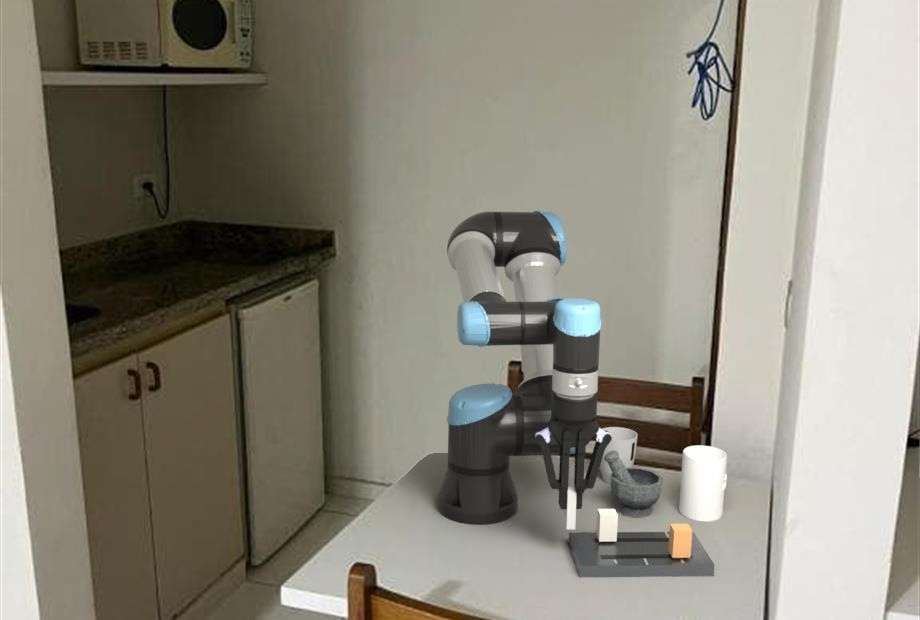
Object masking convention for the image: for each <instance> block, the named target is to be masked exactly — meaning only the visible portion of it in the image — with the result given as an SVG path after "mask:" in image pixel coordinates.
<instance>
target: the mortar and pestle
mask: <svg viewBox="0 0 920 620" xmlns="http://www.w3.org/2000/svg"><path fill="white" fill-rule="evenodd" d="M604 459H605V461H606V462H608V464H609V466H610V468H611V470H612V475H611V481H610V492H611V494H612V496H613V498H614V499H615V500H616V501H617V502H618V503H619V505H618V509H617V510H618V512H619V513H620V514H621V515H623V516H625V517H629V518H632V519H644V518H647V517H650V516H651V514H652V506H654V505H655V504H656V503H657V502H658V500H659V498H660V497H661V491H662V487H663V480H664V479H663V478H664V477H663V475H661V474H659V473H658V472H656V471H655V470H651V469H646V468H642V467H632V468H625V466H624V464H623V463H622V461H621V460H620V458H619V454H618V452H617V451H610V452H608V453H607V454H606V455H605V457H604Z"/></svg>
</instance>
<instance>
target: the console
mask: <svg viewBox="0 0 920 620" xmlns="http://www.w3.org/2000/svg"><path fill="white" fill-rule="evenodd" d="M669 532H670V531H625V532H624V531H617V541H611V542H599V540H598V538H597V535H596V532H590V531H589V532H588V531H587V532H581V531H580V532H568V546H569V550H570V551H571V555H572V558H573V560H574V565H575V567H576V571H577V572H578V576H579V577H580V578H627V577H628V578H635V577H637V578H640V577H641V578H642V577H646V578H648V577H649V578H650V577H656V578H657V577H714V574H715V563H714V562H713V560H712V559H711V558H710V556H709V554H708V552H707V551H706V549H705V548H704V545H703V544H702V542H701V541H700V540H699V538H698V536H697V535H696V533H695V532H694V531H692V543H691V557H690V558H672V556H671V554H670V553H669V551H668V547H669Z"/></svg>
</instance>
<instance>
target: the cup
mask: <svg viewBox="0 0 920 620" xmlns="http://www.w3.org/2000/svg"><path fill="white" fill-rule="evenodd" d="M601 429H602V430H604V431H605V430H606V431H608V432H609V434H610V435H611V437H612V440H611V441H610V443H609V444H608V446H607V447H606V448H605V451H604V455H603V458H602V461H601V465H600V468H599V471H600V473H601V477H602V480H603V482H605V483H607V484H610V481H611V475H612V470H611V468H610V466H609V464H608V462H606V461H605V459H604V457H605V455H606V454H607V453H608V452H610V451H617V452H618V454H619V458H620V460H621V461H622V463H623V464H624V466H625V468H634V463H635V462H634V461H635V458H636V454H637V453H636V452H637V445H638V444H637V443H638V436H639V435H638V433H637V432H636V431H634V430H633V429H630V428H626V427H622V426H621V427H620V426H609V427H603V428H601Z"/></svg>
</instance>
